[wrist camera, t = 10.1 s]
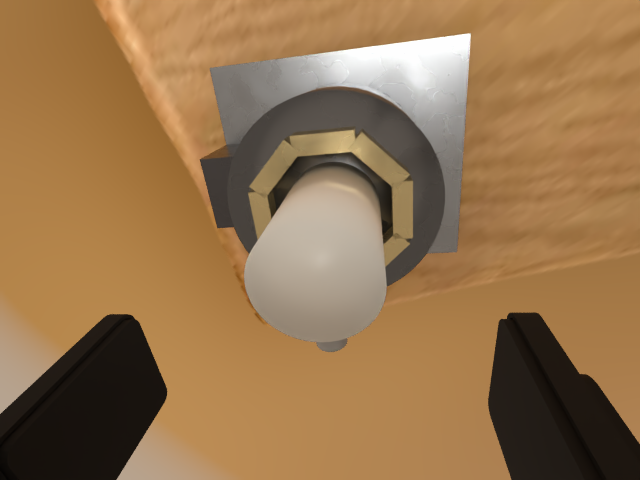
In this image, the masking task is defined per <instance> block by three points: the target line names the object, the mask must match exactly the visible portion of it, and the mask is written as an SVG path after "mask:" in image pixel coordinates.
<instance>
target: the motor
mask: <svg viewBox="0 0 640 480" xmlns="http://www.w3.org/2000/svg"><path fill="white" fill-rule="evenodd" d="M470 37H471V34H463V35H456V36H448V37H440V38H433V39H425V40H418V41H410V42H403V43H395V44H388V45H380V46H373V47H365V48H358V49H350V50H342V51H335V52H327V53H320V54H312V55H305V56H297V57H290V58H282V59H275V60H267V61H260V62H252V63H245V64H237V65H229V66H222V67H214V68H210V72H211V76H212V81H213V86H214V90H215V95H216V99H217V104H218V108H219V113H220V117H221V122H222V126H223V131H224V135H225V140H226V144H227V145H226V146H224V147H222V148H220V149H218V150H216V151H215V152H213V153H211V154H209V155H207V156H205V157H204V158H202V159H200V162H201V166H202V170H203V174H204V177H205V181H206V185H207V189H208V193H209V197H210V201H211V205H212V209H213V212H214V216H215V220H216V224H217V228H228V227H234V228H235V230H236V233H237V235H238V237H239V239H240V241H241V242H242V244H243V246H244V247H245V249H246V250H247V251H248V253H249V254H250V252H251V250H252V248H253V247H254V245H255V244H256V242H257V241H258V239H259V238H260V236H261V235H262V233H263V232H264V230H265V228H266V227H267V225H268V224H269V222H270V221H271V219H272V218H273V216H274V215H275V213H276V211H277V210H278V208H279V207H280V205H281V204H282V202H283V201H284V199H285V198H286V196H287V194H288V193H289V191H290V190H291V188H292V187H293V185H294V184H295V182H296V181H297V179H298V178H299V177H300V176H301V175H302V174H303V173H304V172H305V171H306V170H308V169H309V168H311V167H313V166H315V165H317V164H320V163H324V162H343V163H347V164H350V165H352V166H355V167H356V168H358V169H360V170H361V171H363V172H364V173H365V174H366V175H367V176H368V177H369V178H370V179H371V181H372V182H373V184H374V185H375V187H376V189H377V192H378V195H379V201H380V212H381V223H382V235H383V247H384V259H385V271H386V283H387V286H389V285H391V284H392V283H394V282H396V281H398V280H399V279H401V278H402V277H404V276H405V275H406V274H407V273H409V272H410V271H411V270H412V269H413V268H414V267H415V266H416V265H417V264H418V263H419V262H420V261H421V260H422V259H423V257H424V256H425V255H426V254H427V253H448V252H457V244H458V228H459V212H460V196H461V180H462V164H463V149H464V133H465V117H466V101H467V85H468V69H469V53H470Z"/></svg>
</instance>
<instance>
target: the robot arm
mask: <svg viewBox="0 0 640 480" xmlns="http://www.w3.org/2000/svg"><path fill="white" fill-rule="evenodd" d="M166 396H167V388H166V385H165V383H164V381H163V378H162V376H161V373H160V372H159V369H158V366H157V364H156V361H155V359H154V357H153V354H152V352H151V349H150V347H149V345H148V343H147V340H146V338H145V336H144V333H143V330H142V328H141V326H140V323H139V322H138V321H137V320H135V319H134V317H133V316H132V315H128V314H117V315H116V314H111V315H107V316H106V317H104V318H103V319H102V320H101V321H100V322H99V323H98V324H96V325H95V326H94V327H93V328H92V329H91V330H90V331H89V332H88V333H87V334H86V335H85V336H84V337H82V338H81V339H80V340H79V341H78V342H77V343H76V344H75V345H74V346H73V347H72V348H71V349H70V350H69V351H68V352H66V353H65V355H63V356H62V357H61V358H60V359H59V360H58V361H57V362H56V363H55V364H54V365H52V366H51V367H50V368H49V369H48V370H47V371H46V372H45V373H44V374H43V375H42V376H41V377H40V378H39V379H38V380H36V381H35V382H34V383H33V384H32V385H31V386H30V387H29V388H28V389H27V390H26V391H25V392H23V393H22V394H21V395H20V396H19V397H18V398H17V399H16V400H15V401H14V402H13V403H12V404H11V405H10V406H8V407H7V409H5V410H4V411H3V412H2V413H1V414H0V480H116V479H117V478H118V476H119V475H120V473H121V471H122V470H123V468H124V467H125V465H126V463H127V462H128V460H129V459H130V457H131V455H132V454H133V452H134V450H135V449H136V447H137V446H138V444H139V442H140V441H141V439H142V438H143V436H144V434H145V433H146V431H147V430H148V428H149V426H150V425H151V423H152V422H153V420H154V418H155V417H156V415H157V414H158V412H159V410H160V409H161V407H162V405H163V404H164V402H165V400H166ZM488 406H489V412H490V416H491V419H492V422H493V425H494V428H495V431H496V434H497V437H498V440H499V443H500V446H501V449H502V452H503V455H504V458H505V461H506V464H507V467H508V470H509V473H510V476H511V479H512V480H640V444H639V443H638V441H637V440H636V438H635V437H634V436H633V434H632V433H631V431H630V430H629V428H628V427H627V426H626V424H625V423H624V421H623V420H622V418H621V417H620V416H619V414H618V413H617V411H616V410H615V408H614V407H613V406H612V404H611V403H610V401H609V400H608V398H607V397H606V396H605V394H604V393H603V391H602V390H601V388H600V387H599V386H598V384H597V383H596V382H595V381H594V380H593V379H592V378H591V377H590V376H588V375H585V374H579V372H578V371H577V369H576V368H575V367H574V365H573V364H572V362H571V361H570V359H569V358H568V356H567V355H566V353H565V352H564V350H563V349H562V347H561V346H560V344H559V343H558V341H557V340H556V338H555V337H554V335H553V334H552V332H551V331H550V329H549V328H548V326H547V325H546V323H545V322H544V320H543V319H542V317H541V316H540V315H539V314H538V313H509V314H508V316H507V319H501V320H500V321H499V325H498V332H497V340H496V347H495V354H494V362H493V369H492V376H491V384H490V392H489V399H488Z"/></svg>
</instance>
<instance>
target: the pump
mask: <svg viewBox="0 0 640 480" xmlns="http://www.w3.org/2000/svg"><path fill="white" fill-rule="evenodd" d="M244 282H245V288H246V291H247V294H248V297H249V299H250V301H251V303H252V305H253V307H254V308H255V310H256V311H257V312H258V314H259V315H260V316H261V317H262V318H263V319H264V320H265V321H266V322H267V323H268V324H270V325H271V326H272V327H274V328H275V329H277V330H279V331H280V332H282V333H284V334H286V335H288V336H291V337H294V338H296V339H300V340H304V341H311V342H316V343H317V346H318V347H319V348H320V349H321V350H323V351H327V352H335V351H338V350H340V349H342V348H343V347H344V346H345V345H346V344H347V338H349V337H351V336H354V335H356V334H357V333H359V332H361V331H362V330H364V329H365V328H366V327H368V326H369V325H370V324H371V323H372V322H373V321H374V320H375V318H376V317H377V316H378V314H379V313H380V311H381V309H382V307H383V304H384V301H385V297H386V288H387V283H386V271H385V259H384V247H383V235H382V223H381V212H380V201H379V195H378V192H377V189H376V187H375V185H374V184H373V182H372V181H371V179H370V178H369V177H368V176H367V175H366V174H365V173H364V172H363V171H361V170H360V169H358V168H356V167H355V166H352V165H350V164H347V163H343V162H324V163H320V164H317V165H315V166H313V167H311V168H309V169H308V170H306V171H305V172H304V173H303V174H302V175H301V176H300V177H299V178H298V179H297V181H296V182H295V184H294V185H293V187H292V188H291V190H290V191H289V193H288V194H287V196H286V198H285V199H284V201H283V202H282V204H281V205H280V207H279V208H278V210H277V211H276V213H275V215H274V216H273V218H272V219H271V221H270V222H269V224H268V225H267V227H266V228H265V230H264V232H263V233H262V235H261V236H260V238H259V239H258V241H257V242H256V244H255V245H254V247H253V248H252V250H251V252H250V254H249V256H248V258H247V261H246V265H245V272H244Z"/></svg>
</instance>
